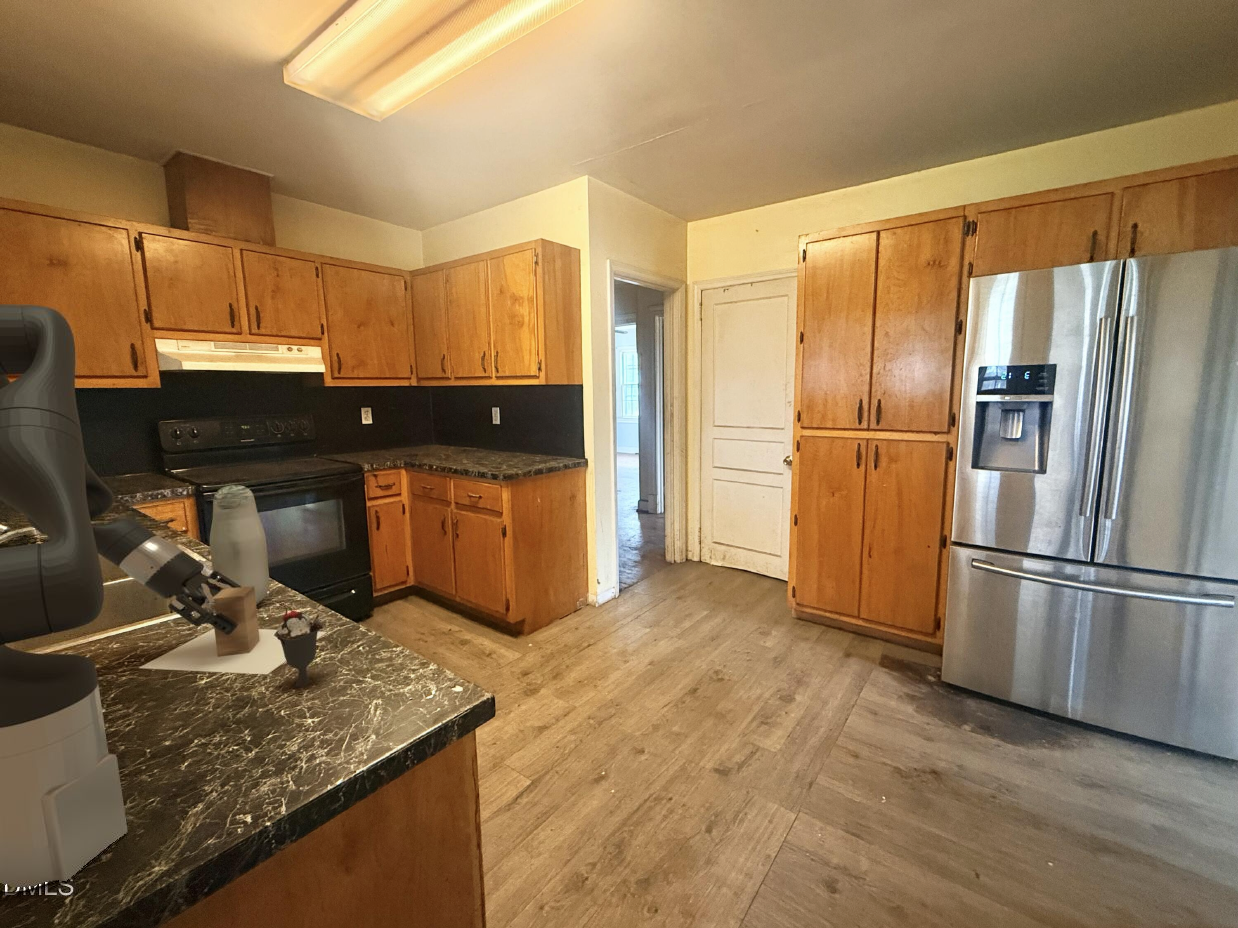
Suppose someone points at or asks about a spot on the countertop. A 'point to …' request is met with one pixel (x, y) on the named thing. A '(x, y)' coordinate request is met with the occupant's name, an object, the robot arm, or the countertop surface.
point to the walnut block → (237, 621)
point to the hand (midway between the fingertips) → (243, 620)
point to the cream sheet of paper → (204, 656)
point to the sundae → (299, 642)
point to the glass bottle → (239, 540)
